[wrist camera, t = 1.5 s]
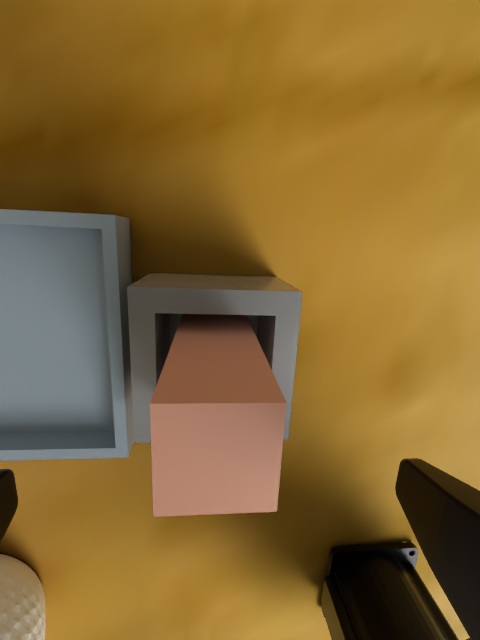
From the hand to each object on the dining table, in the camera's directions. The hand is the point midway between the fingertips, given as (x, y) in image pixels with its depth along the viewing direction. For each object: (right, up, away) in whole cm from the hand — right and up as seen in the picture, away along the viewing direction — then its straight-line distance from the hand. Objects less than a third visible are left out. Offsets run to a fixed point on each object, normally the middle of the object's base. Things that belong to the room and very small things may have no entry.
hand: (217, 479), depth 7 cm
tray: (-11, +3, +9) cm, 15 cm away
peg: (-1, +3, +10) cm, 11 cm away
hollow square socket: (-1, +3, +11) cm, 11 cm away
